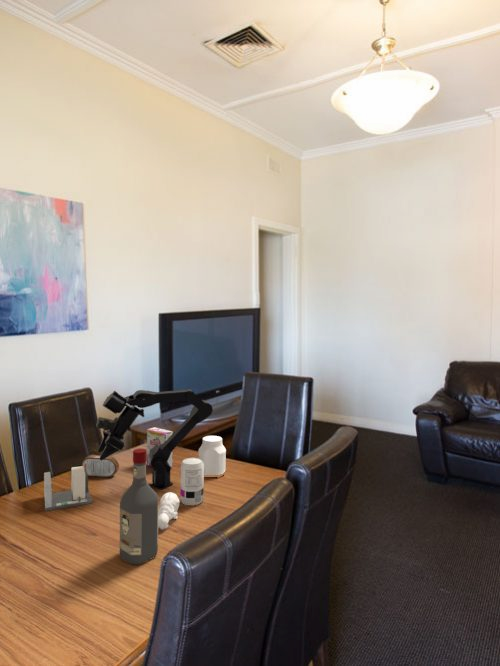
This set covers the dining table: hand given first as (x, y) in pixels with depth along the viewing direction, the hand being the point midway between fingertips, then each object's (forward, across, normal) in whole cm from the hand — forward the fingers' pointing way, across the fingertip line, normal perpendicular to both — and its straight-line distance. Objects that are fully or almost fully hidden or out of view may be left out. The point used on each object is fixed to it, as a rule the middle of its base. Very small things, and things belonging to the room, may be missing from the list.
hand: (99, 455), depth 165 cm
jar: (-15, -5, +45) cm, 48 cm away
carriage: (+14, +3, +2) cm, 15 cm away
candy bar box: (-4, -20, +29) cm, 36 cm away
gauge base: (+18, +2, 0) cm, 18 cm away
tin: (+11, -17, +10) cm, 23 cm away
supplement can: (-6, +18, +33) cm, 38 cm away
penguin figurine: (+1, +31, +24) cm, 39 cm away
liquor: (+7, +46, +15) cm, 49 cm away
